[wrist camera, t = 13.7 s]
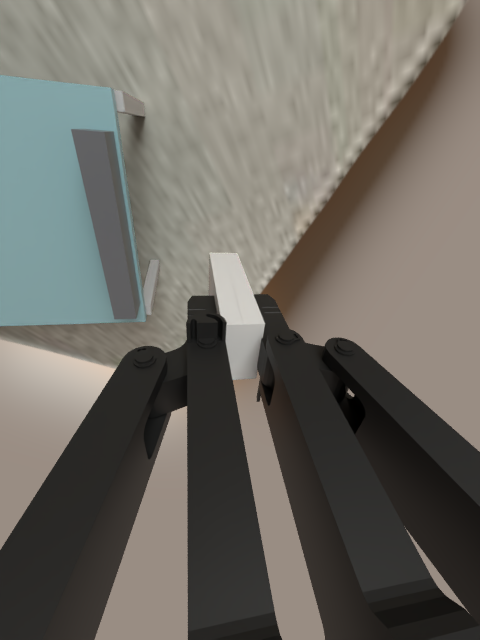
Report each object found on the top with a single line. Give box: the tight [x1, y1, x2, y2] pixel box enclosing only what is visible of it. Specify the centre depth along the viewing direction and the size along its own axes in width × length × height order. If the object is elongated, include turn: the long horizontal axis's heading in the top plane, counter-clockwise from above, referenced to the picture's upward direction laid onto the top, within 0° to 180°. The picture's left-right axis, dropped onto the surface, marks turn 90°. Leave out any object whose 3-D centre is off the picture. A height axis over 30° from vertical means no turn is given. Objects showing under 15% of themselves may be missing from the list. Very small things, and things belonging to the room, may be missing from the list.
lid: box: [0, 75, 147, 326], centre depth 18 cm, size 12×16×3 cm
